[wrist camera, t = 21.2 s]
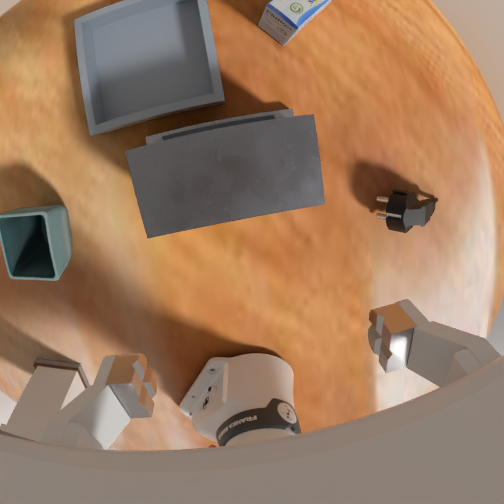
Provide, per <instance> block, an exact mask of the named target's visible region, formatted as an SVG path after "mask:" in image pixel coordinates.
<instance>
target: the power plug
mask: <svg viewBox="0 0 504 504" xmlns="http://www.w3.org/2000/svg"><path fill="white" fill-rule="evenodd" d="M376 200H377V201H380V202H387V207H386V213H387V215H386V214H381V213H377V214H376V217H377V218H378V219H384V220H386V224H387V227H388V229H389V230H393V231H398V232H403V233H407V232H408V231H409V230H410V229H411V228H412V227H413V225H421V226H424V225H425V224H426V223H427V222H428V221H429V220H430V217H431V216H432V214H433V212H434V209H435V203H436V202H437V201H438V199H437V198H434V199H425V200H422V201H419V200H418V199H417V198H416V196H415V194H414V193H411V192H408V191H404V190H397V189H394V190H393V193H392V194H390V196H389V197H384V196H377V197H376Z"/></svg>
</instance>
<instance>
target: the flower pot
mask: <svg viewBox="0 0 504 504" xmlns="http://www.w3.org/2000/svg"><path fill="white" fill-rule="evenodd" d="M0 242H1V246H2V251H3V255H4V260H5V263H6V268H7V271H8V274H9V277H10V278H11V279H25V280H47V281H57V280H58V279H59V278H60V276H61V275H62V273H63V271H64V270H65V268H66V266H67V265H68V263H69V261H70V259H71V255H72V237H71V230H70V224H69V216H68V210H67V208H66V207H65V206H64V205H51V206H40V207H28V208H19V209H15V210H12V211H9V212H6V213H3V214H0Z"/></svg>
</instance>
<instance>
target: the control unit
mask: <svg viewBox="0 0 504 504" xmlns="http://www.w3.org/2000/svg"><path fill="white" fill-rule="evenodd" d="M145 139H146V143H147V145H144V146H141V147H137V148H134V149H130V150H127V151H125V153H126V157H127V161H128V166H129V170H130V174H131V178H132V182H133V186H134V190H135V194H136V198H137V202H138V206H139V209H140V213H141V217H142V220H143V224H144V227H145V231H146V234H147V238H152V237H156V236H161V235H166V234H170V233H175V232H180V231H185V230H190V229H195V228H200V227H204V226H209V225H215V224H220V223H225V222H230V221H235V220H240V219H246V218H251V217H256V216H262V215H267V214H272V213H278V212H283V211H289V210H295V209H300V208H306V207H312V206H318V205H324V204H325V199H324V189H323V180H322V172H321V163H320V155H319V148H318V140H317V133H316V126H315V119H314V114H312V115H303V116H294V114H293V109H285V110H278V111H270V112H263V113H256V114H250V115H244V116H238V117H232V118H227V119H221V120H216V121H211V122H206V123H201V124H197V125H192V126H188V127H183V128H179V129H175V130H171V131H167V132H163V133H159V134H155V135H151V136H147V137H145Z"/></svg>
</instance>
